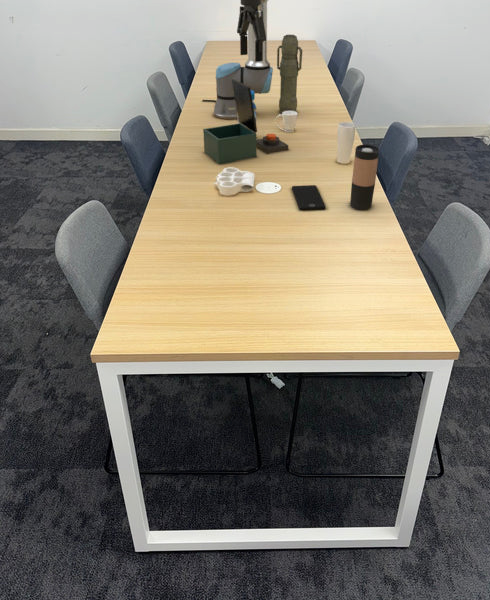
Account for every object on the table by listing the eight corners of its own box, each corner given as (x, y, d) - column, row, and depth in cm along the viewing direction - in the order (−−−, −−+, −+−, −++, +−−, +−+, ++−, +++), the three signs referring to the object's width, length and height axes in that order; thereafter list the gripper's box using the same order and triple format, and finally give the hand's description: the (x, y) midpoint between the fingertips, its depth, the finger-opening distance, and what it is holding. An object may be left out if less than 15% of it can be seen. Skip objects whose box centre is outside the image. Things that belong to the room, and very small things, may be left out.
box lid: (248, 88, 206) (250, 87, 206) (231, 79, 216) (233, 78, 217) (255, 132, 217) (257, 131, 217) (239, 122, 228) (241, 121, 228)
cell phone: (299, 210, 184) (299, 207, 183) (291, 188, 198) (291, 185, 198) (325, 209, 184) (325, 206, 184) (315, 187, 199) (315, 184, 198)
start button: (264, 138, 231) (264, 134, 230) (272, 137, 233) (272, 132, 232) (269, 141, 228) (269, 137, 227) (277, 139, 230) (277, 135, 229)
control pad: (253, 145, 235) (253, 135, 233) (274, 141, 239) (274, 132, 237) (267, 154, 226) (267, 144, 224) (288, 150, 230) (288, 140, 228)
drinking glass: (353, 160, 222) (357, 122, 213) (349, 166, 217) (353, 128, 208) (337, 158, 224) (340, 120, 215) (333, 163, 218) (336, 126, 210)
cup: (296, 133, 248) (297, 115, 243) (274, 132, 249) (274, 114, 244) (297, 128, 254) (298, 110, 249) (276, 127, 254) (276, 109, 250)
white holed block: (253, 196, 193) (211, 195, 193) (255, 176, 207) (216, 175, 207) (252, 187, 191) (210, 186, 191) (255, 167, 205) (215, 166, 205)
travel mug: (347, 201, 190) (353, 144, 178) (369, 200, 191) (376, 144, 179) (351, 211, 184) (358, 153, 172) (374, 210, 184) (382, 152, 173)
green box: (219, 164, 217) (218, 139, 211) (204, 152, 227) (203, 128, 221) (256, 157, 223) (256, 133, 218) (240, 146, 234) (240, 123, 228)
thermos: (298, 115, 270) (302, 37, 250) (275, 114, 271) (276, 36, 251) (300, 110, 277) (304, 34, 257) (277, 109, 279) (278, 33, 258)
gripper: (227, -11, 203) (228, 52, 215) (257, -4, 186) (257, 65, 198) (245, -12, 206) (245, 51, 218) (276, -5, 189) (275, 63, 201)
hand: (251, 57), depth 208 cm, fingers open, 12 cm apart
